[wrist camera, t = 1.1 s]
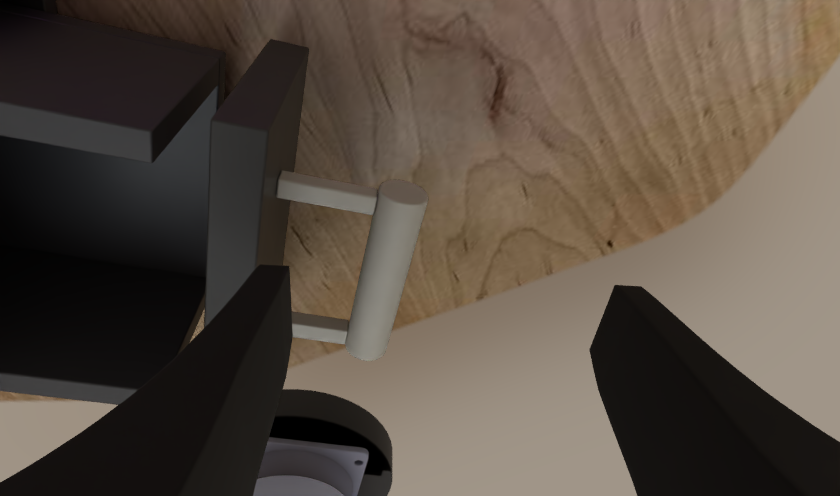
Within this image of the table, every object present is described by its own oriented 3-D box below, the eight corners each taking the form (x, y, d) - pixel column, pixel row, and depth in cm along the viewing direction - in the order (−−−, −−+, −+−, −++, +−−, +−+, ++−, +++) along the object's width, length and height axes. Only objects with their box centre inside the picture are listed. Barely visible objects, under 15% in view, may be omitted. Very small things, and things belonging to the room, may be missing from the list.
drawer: (437, 76, 18) (458, 168, 12) (377, 313, 23) (372, 451, 18) (-107, -48, 15) (-393, -3, 10) (-30, 251, 21) (-186, 389, 15)
